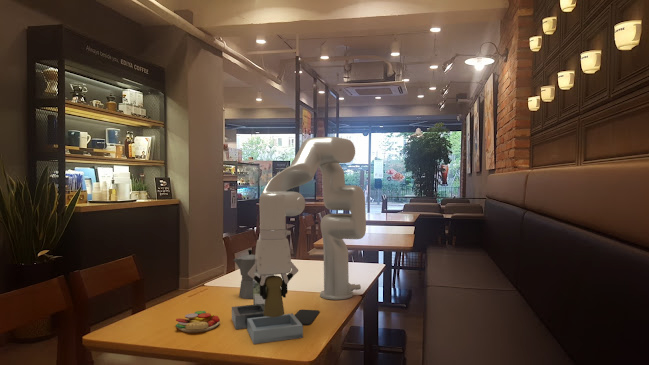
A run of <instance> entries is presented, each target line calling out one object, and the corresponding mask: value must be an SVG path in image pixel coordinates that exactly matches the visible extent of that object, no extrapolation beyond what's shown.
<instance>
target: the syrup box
mask: <svg viewBox="0 0 649 365" xmlns="http://www.w3.org/2000/svg"><path fill="white" fill-rule="evenodd" d="M254 274H255V275H256V276H258V277H260V275H259V274H258V273H257V272H256V271H255V272H254ZM268 276H275V275H266V277H268ZM264 283H265V282H264ZM266 289H267V288H266ZM252 300H253V301H252V302H253V304H252V305H255V304H264V305H265V299H264V300H263V298H262V296H260V284H259V283H257V282H256V281H255V280H254V279H253V299H252Z"/></svg>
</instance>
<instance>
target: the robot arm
mask: <svg viewBox="0 0 649 365" xmlns="http://www.w3.org/2000/svg"><path fill="white" fill-rule="evenodd" d="M355 156H356V146H355V144H354V142H352V141H351V140H350V139H348V138H342V137H337V136H320V137H318V136H317V137H309V138H307V139H305V140H304V141H303V142H302V143H301V145H300V148H299V149H298V151H297V153H296V155H295V157H294V159H292V160H293V161H292V162H291V163H290V165H289V166H287V167H286V168H284V169H283V170H281V171H280V172H278V173H277V174H276V175H274V176H273V177H272V178H271V179H270V180H269V181H268V182H267V184H266V185H265V187H264V188H263V190H262V192H261V194H260V195H259V201H258V203H259V204H258V207H259V239H257V240H256V244H255V245H256V246H255V252H254V253H255V254H254V255H255V264H254V265H253V267H252V268H251V269H250V271H249V272H248V275H249V276H250V277H251V278H253V279H254V280H255V281H256V282H257V283H259V284H260V296H262V298H263V300H264V299H266V286H265V283H264V282H265V279H266V275H274V276H278V275H280V277H281V278H282V286H281V293H282V298H286V297H287V294H288V284H289V282H290V280H292V278H294V276H296V274H297V273H299V268H298V267H296V265H295V264H294V263H293V261H292V258H291V255H292V254H291V247H290V243H289V242H290V241H289V239H288V238H287V236H291V234H292V232H291V230H290V229H287V228H286V225H287V224H286V223H287V222H286V219H287V218H286V217H295V216H298V215H301V214H302V212H304V210H305V209H306V208H305V207H306V200H305V197H304V196H303V194H301V193H300V192H298V191H289V190H291V189H294V188H297V187H300V186H303V185H305V184H307V183H309V182H311V181H312V180H313V179H314V177H315V174H316V172H317V170H318V169H319V170H320V173H321V177H322V196H323V197H322V198H323V205H324V208H326V209H327V210H330V211H349V212H350V213H328V214H326V215H324V216H323V217H322V218H321V220H320V231H321V237H322V247H323V250H322V251H323V290H321V292H320V293H319V295H320V297H321V298H323V299H325V300H326V299H327V300H332V301H333V300H337V301H338V300H340V301H341V300H346V299H351V298H352V297H353V296H354V292H353V291H354V290H355V291H357V290H361V288H362V287H361V284H356V283H352V284H351V283H350V282H349V277H350V276H349V275H350V274H349V249H348V246H347V244H346V242H345V241H344V240H362V239H363V238H364V237H365V235H366V230H367V216H366V215H367V214H366V212H367V211H366V196H365V192H364V190H363V188H362V187H361V186H358V185H352V184H350V185H346V180H345V178H346V177H345V171H344V169H343V167H342V166H341V164H348V163H351V162H352V161H353V160H354V159H355ZM255 271H256V272H257V273H258V274H259V275H260V277H258V276H256V275H255V274H254V272H255Z"/></svg>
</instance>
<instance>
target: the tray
mask: <svg viewBox="0 0 649 365" xmlns="http://www.w3.org/2000/svg"><path fill="white" fill-rule="evenodd" d="M294 315H295V314H294V313H284V315H282V316H278V317H267V316H265V317H256V318H247V328H246V329H247V333H248V335H249V337H250V339H251V341H252V343H253V344H252V345H257V344H263V343H271V342H280V341H287V340H296V339H302V338H304V325H302V324H301V323H300V322H299V320H298V319H297V318H296V317H295V316H294Z"/></svg>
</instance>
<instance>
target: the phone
mask: <svg viewBox="0 0 649 365" xmlns="http://www.w3.org/2000/svg"><path fill="white" fill-rule="evenodd" d="M320 313H321V311H320V310H318V309H317V310H316V309H299V310H297V312H296V313H295V314H294V316H295V317H296V318H297V319H298V320H299V322H300V323H301V324H302V325H303V327H304V326H305V327H306V326H311V325H312V324H313V322H314V321H316V320H315V319H317V317H318V316H319V314H320Z"/></svg>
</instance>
